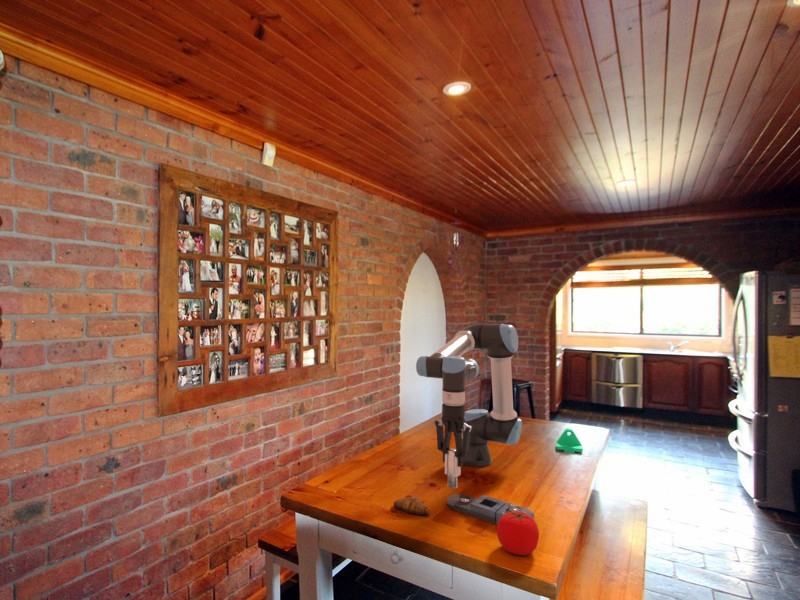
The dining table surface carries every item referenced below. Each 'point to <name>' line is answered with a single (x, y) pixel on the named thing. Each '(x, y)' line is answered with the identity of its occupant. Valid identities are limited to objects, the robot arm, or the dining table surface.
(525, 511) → the chain end
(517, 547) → the tomato
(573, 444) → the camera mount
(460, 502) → the chain end
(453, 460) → the steel pin
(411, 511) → the croissant
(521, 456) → the dining table surface
